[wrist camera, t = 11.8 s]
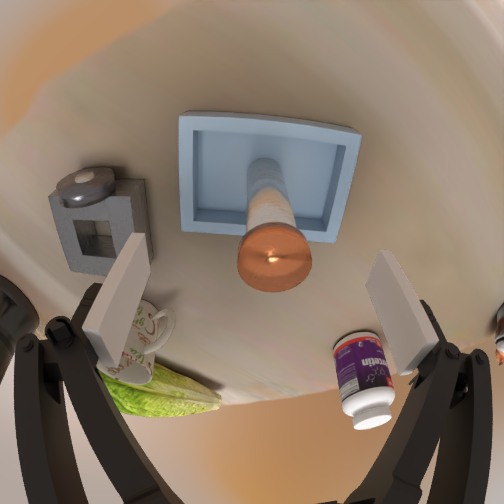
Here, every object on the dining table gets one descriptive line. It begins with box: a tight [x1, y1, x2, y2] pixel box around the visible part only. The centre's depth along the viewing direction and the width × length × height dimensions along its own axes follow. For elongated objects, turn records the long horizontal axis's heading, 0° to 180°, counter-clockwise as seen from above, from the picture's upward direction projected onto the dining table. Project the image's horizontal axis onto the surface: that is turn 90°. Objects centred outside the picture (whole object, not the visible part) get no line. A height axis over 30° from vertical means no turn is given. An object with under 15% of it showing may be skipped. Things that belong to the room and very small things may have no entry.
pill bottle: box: [333, 332, 395, 430], centre depth 37 cm, size 8×8×14 cm
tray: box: [179, 111, 362, 243], centre depth 25 cm, size 15×11×3 cm
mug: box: [96, 299, 176, 385], centre depth 34 cm, size 8×13×10 cm, turn 123°
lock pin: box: [238, 158, 312, 292], centre depth 21 cm, size 4×4×13 cm
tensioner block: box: [48, 167, 153, 276], centre depth 26 cm, size 10×12×6 cm
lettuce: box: [98, 362, 221, 417], centre depth 45 cm, size 12×24×13 cm
